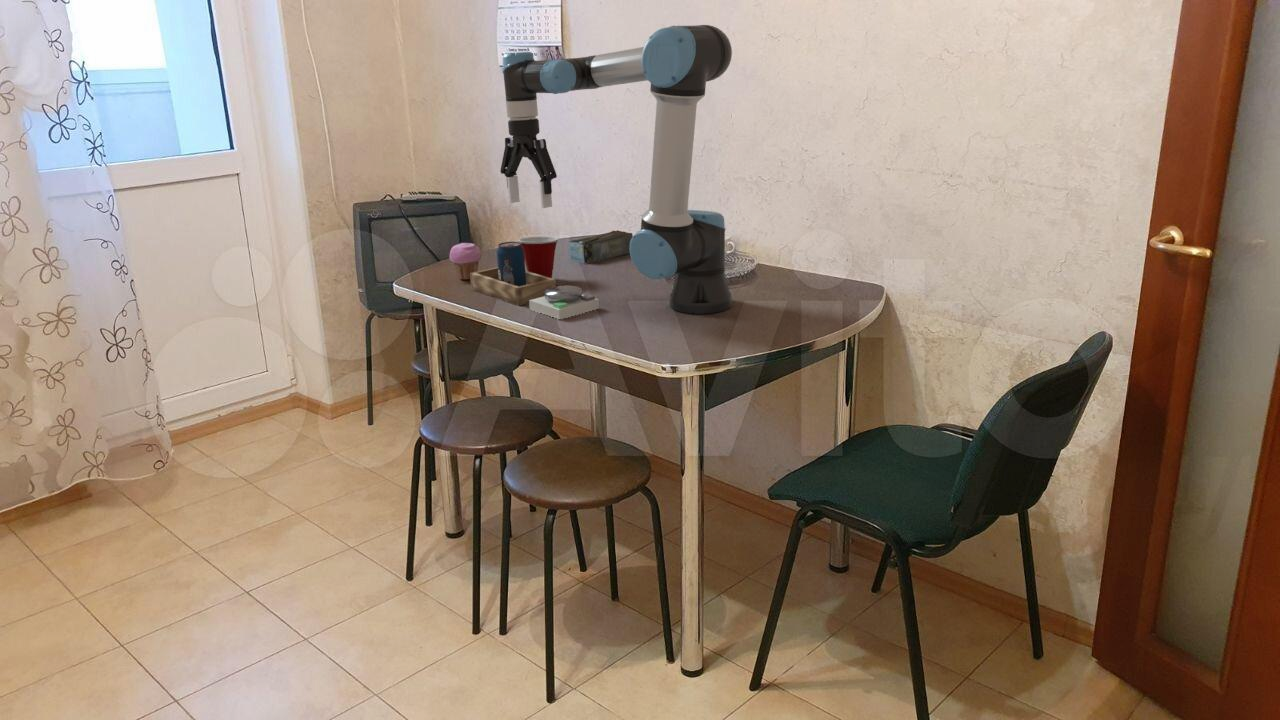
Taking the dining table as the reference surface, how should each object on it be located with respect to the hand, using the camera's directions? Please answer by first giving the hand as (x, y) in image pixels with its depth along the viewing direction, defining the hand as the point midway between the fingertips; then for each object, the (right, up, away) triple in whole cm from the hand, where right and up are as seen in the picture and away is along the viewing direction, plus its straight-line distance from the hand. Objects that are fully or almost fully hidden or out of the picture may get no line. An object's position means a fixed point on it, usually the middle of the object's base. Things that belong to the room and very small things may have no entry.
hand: (530, 204), depth 236 cm
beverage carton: (+16, -9, +43) cm, 46 cm away
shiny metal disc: (+9, -24, -9) cm, 27 cm away
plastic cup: (+1, -18, +18) cm, 25 cm away
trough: (-5, -22, +7) cm, 24 cm away
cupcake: (-20, -17, +23) cm, 35 cm away
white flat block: (+9, -27, -8) cm, 30 cm away
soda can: (-5, -21, +7) cm, 23 cm away
